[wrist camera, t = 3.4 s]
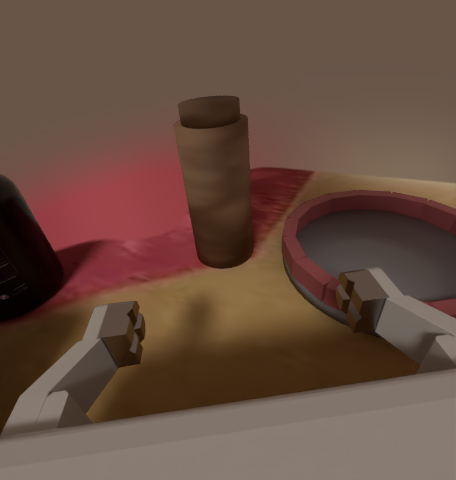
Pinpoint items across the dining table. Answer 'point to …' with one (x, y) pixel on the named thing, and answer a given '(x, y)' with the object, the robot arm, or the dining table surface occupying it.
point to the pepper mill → (216, 178)
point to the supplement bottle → (23, 256)
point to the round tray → (372, 246)
